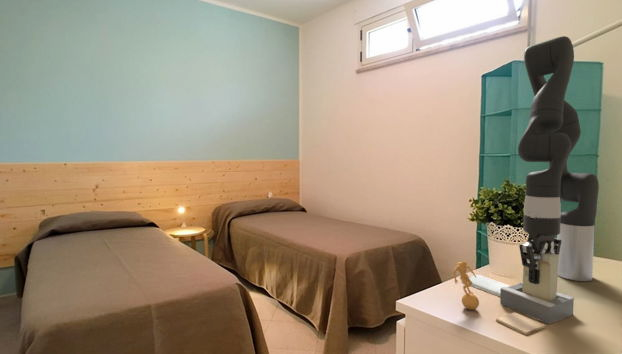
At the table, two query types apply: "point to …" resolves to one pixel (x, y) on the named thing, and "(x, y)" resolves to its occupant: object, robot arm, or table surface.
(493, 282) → the hard drive
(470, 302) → the figurine
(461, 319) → the table surface
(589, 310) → the table surface
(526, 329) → the cork coaster
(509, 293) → the socket block
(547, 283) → the skincare box
